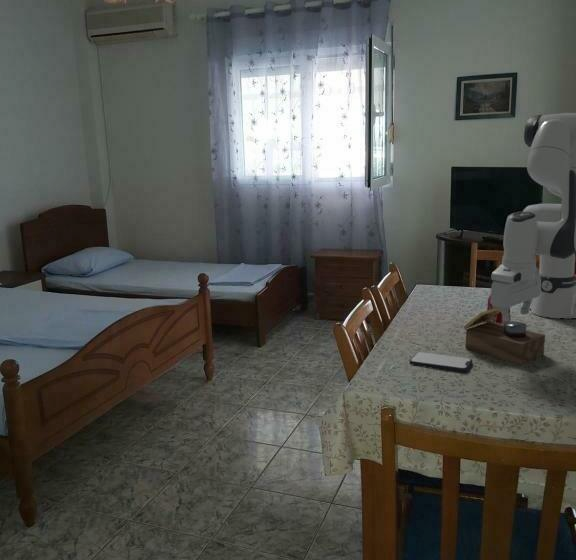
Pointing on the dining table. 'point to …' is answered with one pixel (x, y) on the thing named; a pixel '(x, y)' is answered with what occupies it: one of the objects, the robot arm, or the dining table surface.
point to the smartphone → (442, 362)
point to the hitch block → (504, 343)
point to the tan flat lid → (483, 317)
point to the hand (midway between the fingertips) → (515, 317)
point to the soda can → (499, 316)
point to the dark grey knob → (515, 329)
